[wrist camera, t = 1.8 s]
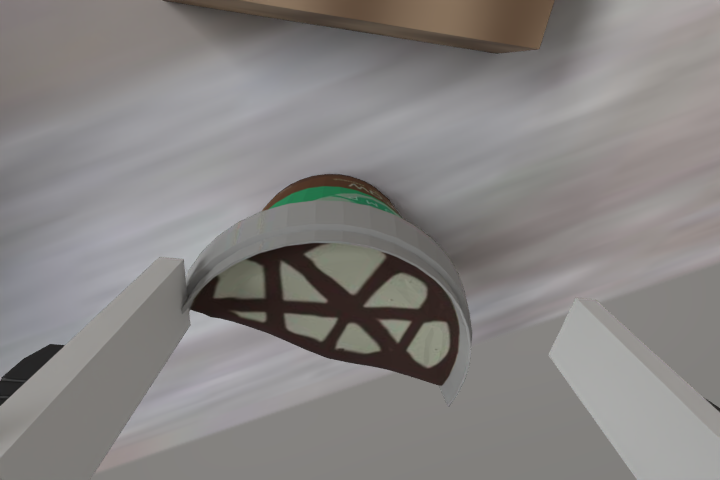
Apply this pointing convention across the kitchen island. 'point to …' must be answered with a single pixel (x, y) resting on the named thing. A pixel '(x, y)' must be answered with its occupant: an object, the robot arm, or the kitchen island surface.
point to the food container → (340, 282)
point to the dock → (414, 19)
